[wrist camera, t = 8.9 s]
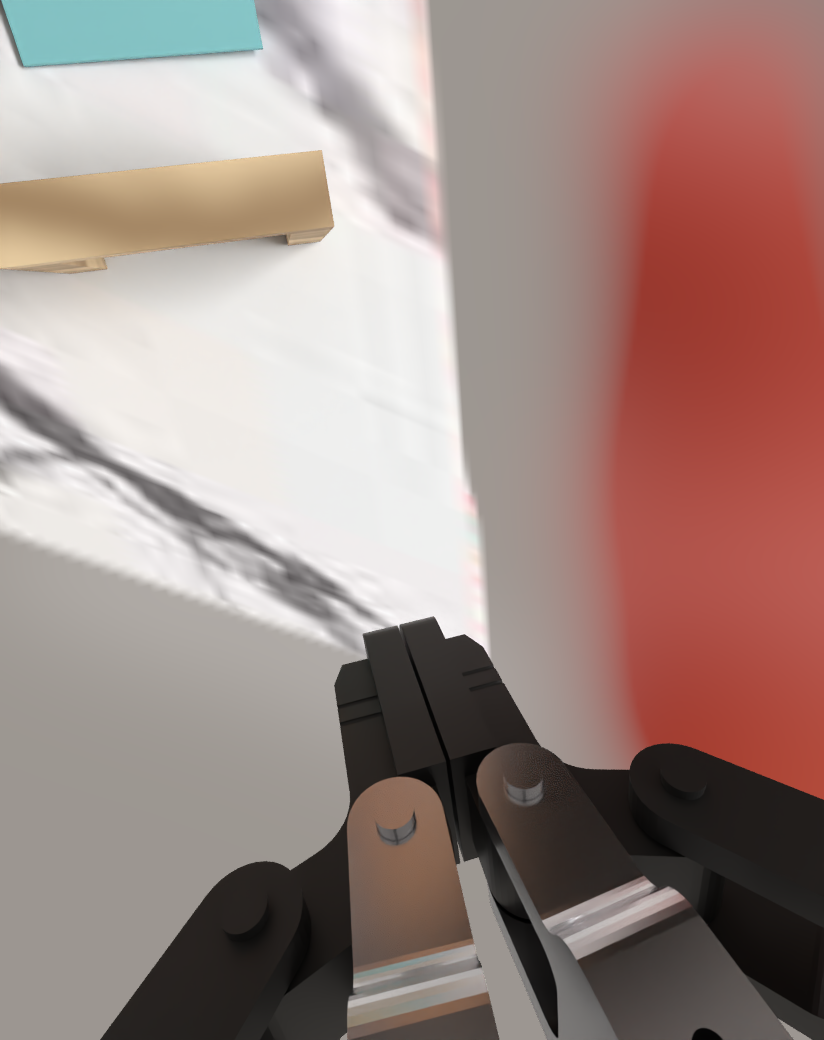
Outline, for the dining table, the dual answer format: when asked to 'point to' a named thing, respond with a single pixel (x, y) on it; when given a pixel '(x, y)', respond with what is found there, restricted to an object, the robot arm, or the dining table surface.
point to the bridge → (161, 210)
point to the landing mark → (129, 29)
